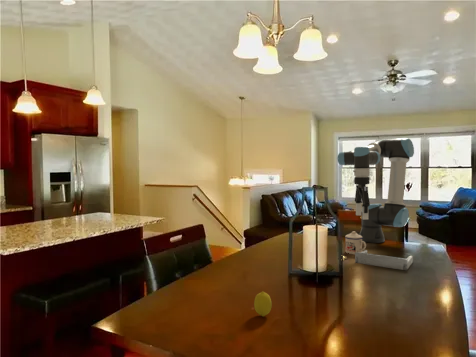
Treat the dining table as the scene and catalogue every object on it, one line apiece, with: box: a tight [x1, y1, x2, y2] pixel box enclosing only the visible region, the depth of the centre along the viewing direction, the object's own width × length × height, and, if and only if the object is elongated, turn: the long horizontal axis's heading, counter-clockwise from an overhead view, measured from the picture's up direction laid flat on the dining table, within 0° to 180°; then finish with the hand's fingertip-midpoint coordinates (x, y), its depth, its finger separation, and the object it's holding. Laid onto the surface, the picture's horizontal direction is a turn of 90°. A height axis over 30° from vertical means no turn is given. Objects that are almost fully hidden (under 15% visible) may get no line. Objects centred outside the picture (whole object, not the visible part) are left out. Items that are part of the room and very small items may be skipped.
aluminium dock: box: [354, 249, 414, 271], centre depth 167 cm, size 16×23×5 cm
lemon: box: [253, 291, 272, 318], centre depth 108 cm, size 6×6×8 cm
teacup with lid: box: [344, 231, 367, 255], centre depth 185 cm, size 12×9×12 cm
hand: (361, 217), depth 178 cm, fingers open, 13 cm apart
